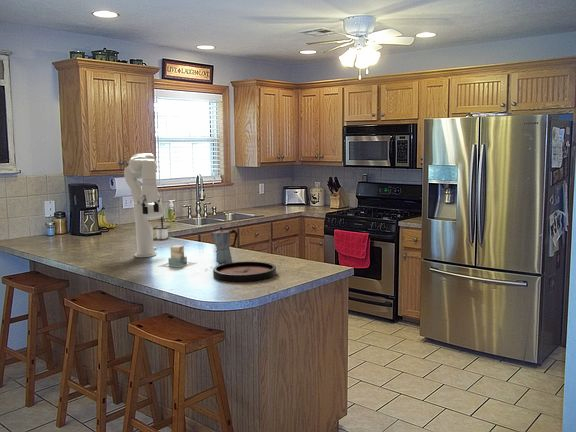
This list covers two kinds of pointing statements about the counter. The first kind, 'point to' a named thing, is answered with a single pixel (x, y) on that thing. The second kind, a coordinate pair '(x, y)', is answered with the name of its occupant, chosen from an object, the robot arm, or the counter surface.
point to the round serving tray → (244, 272)
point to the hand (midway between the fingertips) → (150, 212)
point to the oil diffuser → (161, 230)
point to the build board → (177, 266)
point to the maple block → (177, 251)
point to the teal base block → (177, 261)
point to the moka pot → (223, 245)
